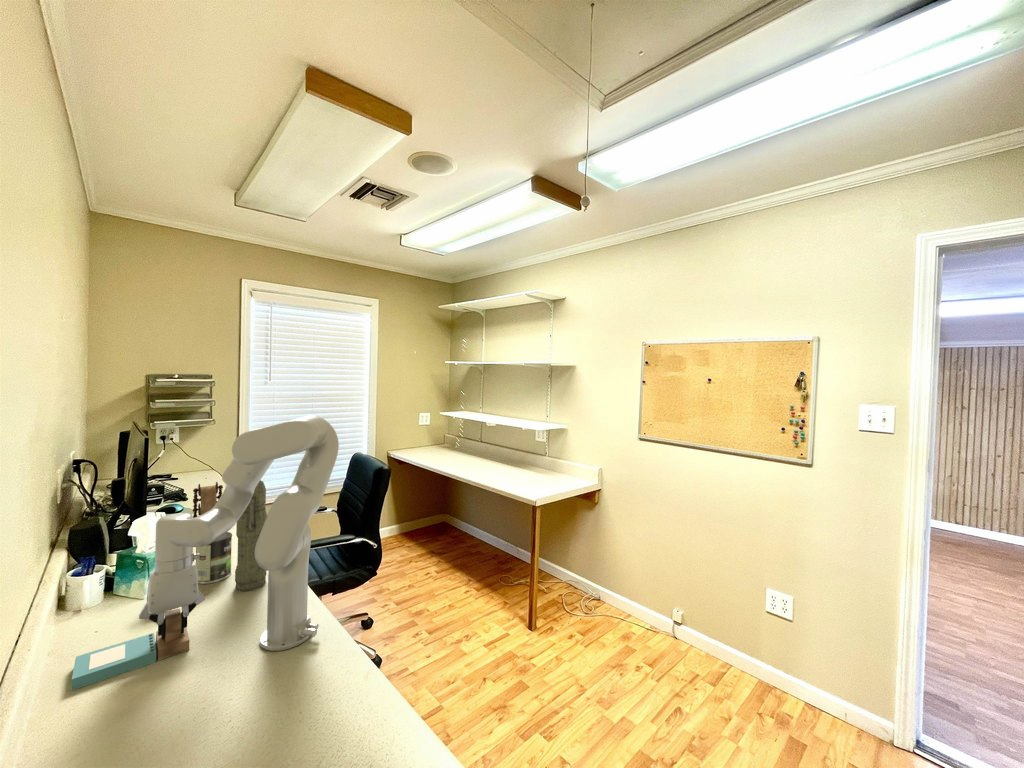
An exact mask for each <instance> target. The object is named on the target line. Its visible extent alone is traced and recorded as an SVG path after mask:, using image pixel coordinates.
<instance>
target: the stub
mask: <svg viewBox="0 0 1024 768" xmlns="http://www.w3.org/2000/svg"><path fill="white" fill-rule="evenodd" d="M180 608H181V607H179V608H175V609H172V610H168V611H165V614H164V619H165V622H166V635H165V639H163V640H162V637H161V635H160V636H158V630H157V631H155V645H156V656H157V661H161V660H163V659H166V658H169V657H171V656H175V655H178V654H180V653H184V652H187V651H189V650H190V636H189V633H188V627H186V628H184V633H182V634H181V612H182V611H181V609H180Z"/></svg>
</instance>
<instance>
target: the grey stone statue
mask: <svg viewBox="0 0 1024 768" xmlns="http://www.w3.org/2000/svg"><path fill="white" fill-rule="evenodd" d="M266 498H267V488H266V485H265V483H264V480H262V479H261V480H260V481H259V483H258V484H257V486H256V487H255V490H254V493H253V496H252V498H251V500H250V502H249V504H248V506H247V508H246V509H245V511H244V512H243V514H242V515H241V517H240V518H239V520H238V521H237V522H236V530H235V531H236V533H235V535H236V537H237V564H236V567H235V573H234V581H235V591H237V592H249V591H251V592H252V591H254V590H257V589H259V588H261V587H263V586H265V584H266V582H267V580H266V576H267V570H264V569H262V568H261V567H260V566H259V565H258V564H257V562H256V559H255V546H256V543H257V540H258V538H259V535H260V533H261V530H262V528H263V525H264V523H265V520H266V518H267V515H268V513H267V511H266V502H267V501H266V500H267V499H266Z"/></svg>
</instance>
